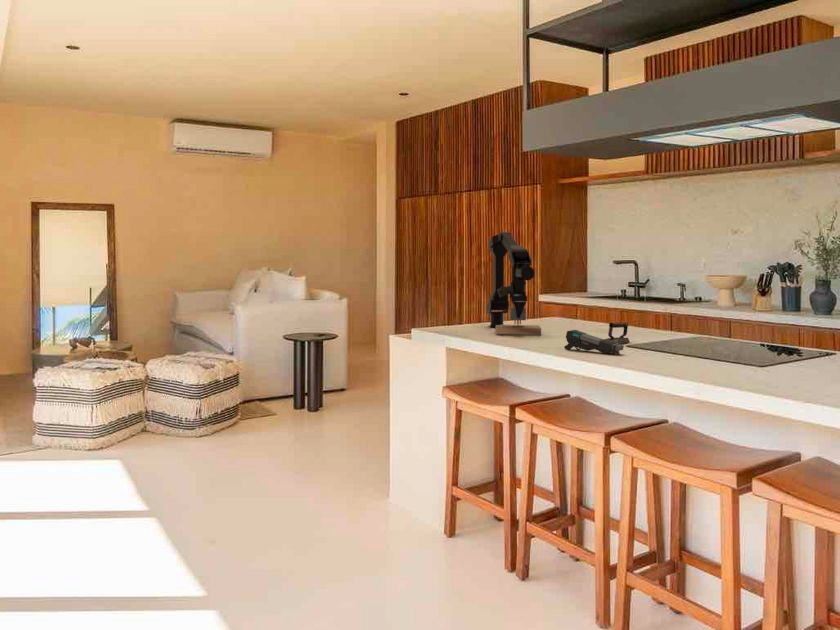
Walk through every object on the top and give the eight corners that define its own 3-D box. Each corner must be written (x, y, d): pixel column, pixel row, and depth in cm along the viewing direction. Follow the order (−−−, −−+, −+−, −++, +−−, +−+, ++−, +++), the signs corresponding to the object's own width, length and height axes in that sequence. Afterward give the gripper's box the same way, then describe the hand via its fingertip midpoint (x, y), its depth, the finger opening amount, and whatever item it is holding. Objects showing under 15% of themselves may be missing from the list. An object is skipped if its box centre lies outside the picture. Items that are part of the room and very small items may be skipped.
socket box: (495, 332, 306) (495, 323, 306) (538, 332, 305) (538, 323, 304) (496, 335, 295) (496, 326, 295) (541, 335, 294) (541, 327, 294)
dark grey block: (510, 323, 303) (510, 306, 302) (524, 323, 302) (524, 306, 302) (510, 325, 297) (510, 308, 297) (525, 325, 297) (525, 308, 296)
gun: (567, 347, 260) (575, 321, 256) (615, 372, 248) (625, 345, 245) (560, 348, 256) (569, 322, 253) (609, 373, 245) (619, 347, 242)
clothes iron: (600, 344, 272) (603, 318, 273) (620, 349, 278) (623, 323, 279) (615, 345, 266) (618, 318, 267) (635, 349, 272) (638, 323, 274)
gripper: (498, 278, 308) (497, 314, 309) (499, 280, 289) (498, 319, 291) (524, 278, 307) (524, 314, 308) (527, 280, 288) (527, 319, 290)
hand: (518, 317), depth 299 cm, fingers closed on dark grey block, 6 cm apart
